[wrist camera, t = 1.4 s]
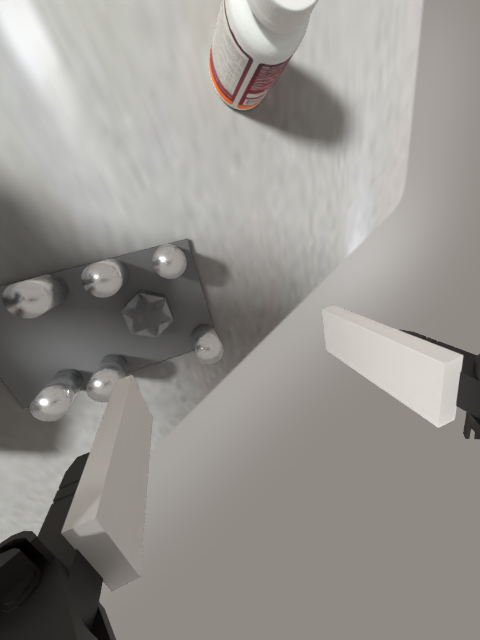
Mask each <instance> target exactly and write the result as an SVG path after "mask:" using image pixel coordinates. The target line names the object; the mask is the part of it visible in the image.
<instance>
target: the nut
mask: <svg viewBox="0 0 480 640" xmlns="http://www.w3.org/2000/svg"><path fill="white" fill-rule="evenodd" d="M121 312H122V314H123V317H124V319H125V321H126V323H127V326H128V328H129V330H130V332H131V334H135V335H142V336H149V337H155V338H157V337H158V336H159V335H160V334H161V333H162V332H163V331H164V330H165V329H166V328H167V327H168V326H169V325H170V324H171V323H172V321H173V314H172V312H171V309H170V306H169V303H168V300H167V298H166V295H165V294H161V293H157V292H152V291H147V290H143V289H140V290H139V291H138V292H137V293H136V294H135V295H134V297H133V298H132V299H131V300H130V301H129V302H128V303H127V304H126V305H125V306H124V307H123V309H122V310H121Z"/></svg>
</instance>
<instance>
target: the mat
mask: <svg viewBox="0 0 480 640" xmlns="http://www.w3.org/2000/svg"><path fill="white" fill-rule="evenodd" d="M169 244H171V245H174V246H176V247H177V248H179V249H180V250H181V251H182V252H183V253H184V255H185V257H186V261H187V265H186V269H185V271H184V272H183V274H182V275H180V276H179V277H177V278H174V279H168V278H164V277H162V276H160V275H159V274H158V273H157V272H156V271H155V269H154V267H153V263H152V258H153V255H154V253H155V251H156V250H157V249H158V248H159V247H160V246H157V247H153V248H149V249H145V250H141V251H137V252H133V253H129V254H125V255H121V256H117V257H113V258H109V259H116V260H119V261H121V262H122V263H123V264H124V265H125V266H126V267H127V269H128V273H129V276H128V280H127V282H126V283H125V284H124V285H123V286H122V287H121V288H120V289H119V290H118V291H117V292H116V293H115V294H114V295H112V296H110V297H105V298H101V297H96V296H94V295H92V294H90V293H89V292H88V291H87V290H86V289H85V288H84V286H83V284H82V280H81V276H82V273H83V271H84V269H85V268H86V267H87V266H89V265H91V264H93V263H90V264H86V265H82V266H78V267H74V268H70V269H66V270H62V271H58V272H54V273H50V274H46V275H55V276H58V277H60V278H61V279H63V280H64V281H65V282H66V283H67V285H68V287H69V295H68V298H67V299H66V300H65V301H63V302H62V303H60V304H59V305H57V306H55V307H53V308H52V309H50V310H48V311H47V312H45V313H43V314H42V315H40V316H38V317H35V318H21V317H18V316H16V315H14V314H12V313H11V312H9V311H8V310H7V309H6V307H5V306H4V304H3V300H2V295H3V292H4V290H5V289H6V288H7V287H8V286H10V285H12V284H15V283H18V282H15V283H11V284H7V285H3V286H0V378H1V379H2V381H3V382H4V383H5V385H6V386H7V387H8V389H9V390H10V392H11V393H12V394H13V396H14V397H15V398H16V400H17V401H18V403H19V404H20V405H21V407H22V408H26V407H29V406H30V404H31V402H32V401H33V400H34V399H35V398H36V396H37V395H38V394H39V393H40V392H41V390H42V389H43V388H44V387H45V386H46V384H47V383H48V382H49V381H50V380H51V378H52V377H53V376H54V375H55V374H56V373H57V372H58V371H60V370H62V369H74V370H77V371H78V372H80V373H81V374H82V376H83V379H84V382H83V385H82V387H81V388H80V389H82V388H85V387H87V384H88V382H89V381H90V379H91V377H92V375H93V373H94V372H95V370H96V368H97V366H98V364H99V362H100V361H101V359H102V358H103V357H104V356H106V355H108V354H119V355H121V356H123V357H124V358H125V359H126V361H127V363H128V367H127V370H126V373H128V372H131V371H134V370H137V369H140V368H143V367H146V366H149V365H152V364H155V363H158V362H161V361H164V360H166V359H169V358H172V357H175V356H178V355H181V354H184V353H187V352H190V351H193V350H195V349H194V345H193V341H192V332H193V330H194V328H195V327H197V326H198V325H201V324H207V325H210V326H211V327H212V328H213V329H214V327H213V324H212V320H211V317H210V314H209V310H208V307H207V303H206V300H205V297H204V293H203V290H202V287H201V283H200V280H199V277H198V273H197V270H196V267H195V263H194V260H193V257H192V253H191V250H190V247H189V243H188V240H187V239H184V240H180V241H177V242H173V243H169ZM161 246H162V245H161ZM105 260H106V259H105ZM101 261H103V260H101ZM98 262H100V261H98ZM94 263H97V262H94ZM42 276H43V275H42ZM38 277H39V276H38ZM34 278H36V277H34ZM30 279H32V278H30ZM26 280H29V279H26ZM23 281H25V280H23ZM19 282H22V281H19ZM140 289H143V290H147V291H152V292H157V293H161V294H165V295H166V298H167V300H168V303H169V306H170V309H171V312H172V314H173V321H172V323H171V324H170V325H169V326H168V327H167V328H166V329H165V330H164V331H163V332H162V333H161V334H160V335H159V336H158V337H157V338H155V337H149V336H142V335H135V334H131V332H130V330H129V328H128V326H127V323H126V321H125V319H124V317H123V314H122V312H121V310H122V309H123V307H124V306H125V305H126V304H127V303H128V302H129V301H130V300H131V299H132V298H133V297H134V295H135V294H136V293H137V292H138V291H139V290H140Z"/></svg>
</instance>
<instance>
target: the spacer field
mask: <svg viewBox="0 0 480 640" xmlns="http://www.w3.org/2000/svg"><path fill="white" fill-rule="evenodd" d="M152 263H153V267H154V269H155V271H156V272H157V273H158V274H159V275H160V276H162V277H164V278H168V279H174V278H177V277H179V276H180V275H182V274H183V272H184V271H185V269H186V265H187V261H186V257H185V255H184V253H183V252H182V251H181V250H180V249H179V248H177V247H176V246H174V245H171V244H165V245H162V246H160V247H159V248H158V249H157V250H156V251H155V253H154V255H153V258H152ZM128 276H129V273H128V269H127V267H126V266H125V265H124V264H123V263H122V262H121V261H119V260H116V259H106V260H103V261H100V262H97V263H93V264H91V265H89V266H87V267H86V268H85V269H84V271H83V273H82V276H81V280H82V284H83V286H84V288H85V289H86V290H87V291H88V292H89V293H90V294H92V295H94V296H96V297H101V298H105V297H110V296H112V295H114V294H115V293H116V292H117V291H118V290H119V289H120V288H121V287H122V286H123V285H124V284H125V283H126V282H127V280H128ZM68 295H69V287H68V285H67V283H66V282H65V281H64V280H63V279H61V278H60V277H58V276H55V275H43V276H39V277H36V278H32V279H29V280H25V281H22V282H18V283H15V284H12V285H10V286H8V287H7V288H6V289H5V290H4V292H3V295H2V300H3V304H4V306H5V307H6V309H7V310H8V311H9V312H11V313H12V314H14V315H16V316H18V317H21V318H35V317H38V316H40V315H42V314H43V313H45V312H47V311H48V310H50V309H52V308H53V307H55V306H57V305H59V304H60V303H62V302H63V301H65V300H66V299H67V298H68ZM192 341H193V345H194V349H195V353H196V357H197V359H198V360H199V361H200V362H201V363H203V364H205V365H212V364H215V363H217V362H218V361H219V360H220V359H221V358H222V356H223V353H224V348H223V346H222V344H221V342H220V340H219V338H218V336H217V334H216V332H215V330H214V329H213V328H212V327H211V326H210V325H207V324H201V325H198V326H197V327H195V328H194V330H193V332H192ZM127 367H128V363H127V361H126V359H125V358H124V357H123V356H121V355H119V354H108V355H106V356H104V357H103V358H102V359H101V361H100V362H99V364H98V366H97V368H96V370H95V372H94V373H93V375H92V377H91V379H90V381H89V382H88V384H87V387H86V392H87V395H88V396H89V397H90V398H91V399H92V400H94V401H97V402H108V401H109V398H110V396H111V393H112V390H113V387H114V385H115V382H116V380H118V379H121V378H124V377H125V374H126V370H127ZM83 382H84V379H83V376H82V374H81V373H80V372H78V371H77V370H74V369H62V370H60V371H58V372H57V373H56V374H55V375H54V376H53V377H52V378H51V380H50V381H49V382H48V383H47V384H46V386H45V387H44V388H43V389H42V390H41V392H40V393H39V394H38V395H37V396H36V398H35V399H34V400H33V401H32V402H31V404H30V412H31V414H32V415H33V416H34V417H35V418H36V419H38V420H41V421H47V422H50V421H56V420H58V419H60V418H62V417H63V416H64V415H65V414H66V412H67V411H68V409H69V407H70V405H71V404H72V402H73V400H74V399H75V397H76V395H77V393H78V392H79V390H80V388H81V387H82V385H83Z"/></svg>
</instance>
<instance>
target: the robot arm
mask: <svg viewBox="0 0 480 640" xmlns="http://www.w3.org/2000/svg"><path fill="white" fill-rule="evenodd" d="M322 318H323V326H324V336H325V344H326V350H327V351H328V352H329V353H331V354H332V355H334V356H335V357H337V358H338V359H340V360H341V361H342V362H344V363H345V364H347V365H348V366H350V367H351V368H353V369H354V370H355V371H357V372H358V373H360V374H361V375H363V376H364V377H366V378H367V379H368V380H370V381H371V382H373V383H374V384H376V385H377V386H379V387H380V388H382V389H383V390H384V391H386V392H387V393H389V394H390V395H392V396H393V397H395V398H396V399H398V400H399V401H400V402H402V403H403V404H405V405H406V406H408V407H409V408H410V409H412V410H413V411H415V412H416V413H418V414H419V415H421V416H422V417H424V418H425V419H427V420H428V421H429V422H431V423H432V424H434V425H435V426H437V427H438V428H439V427H441V426H443V425H445V424H447V423H449V422H451V421H453V420H455V414H456V407H457V406H458V407H460V408H461V409H463V410H465V411H466V412H467V413H466V420H465V426H464V432H463V434H464V436H465V438H466V439H469V437H470V431H471V429H473V430H474V432H475V437H474V438H475V439H480V354H479V355H474V354H471V353H469V352H466V351H463V350H461V349H458V348H455V347H453V346H450V345H447V344H444V343H442V342H439V341H438V342H437V341H436V340H433V339H431V338H426V336H423V335H420V334H418V333H415V332H410V331H405V330H397V329H394V328H392V327H389V326H387V325H384V324H381V323H379V322H376V321H374V320H371V319H369V318H366V317H363V316H361V315H358V314H356V313H353V312H350V311H348V310H345V309H343V308H340V307H338V306H335V305H331V306H328V307H326V308H322ZM152 420H153V417H152V415H151V413H150V411H149V408H148V406H147V404H146V402H145V400H144V398H143V396H142V394H141V392H140V390H139V388H138V386H137V384H136V381H135V379H134V377H133V375H130V376H127V377H124V378H121V379H118V380H116V382H115V385H114V387H113V390H112V393H111V396H110V398H109V401H108V404H107V407H106V409H105V412H104V415H103V418H102V421H101V423H100V426H99V429H98V432H97V434H96V437H95V440H94V443H93V446H92V448H91V451H90V452H89V453H87V454H84V455H82V456H79V457H77V458H76V459H75V461H74V462H73V463H72V465H71V466H70V467H69V469H68V470H67V471H66V473H65V475H64V477H63V479H62V482H61V484H60V486H59V490H58V491H57V493H56V496H55V498H54V500H53V501H54V503H53V504H52V505H51V507H50V509H49V512H48V514H47V516H46V519H45V521H44V523H43V525H42V528H41V530H40V532H39V535H38V537H37V536H36V535H35V534H34V533H33V532H32V531H22V532H20V533H17V534H15V535H12V536H11V537H9V538H8V539H6V540H5V541H3V542H2V543H0V640H116V638H115V636H114V633H113V630H112V628H111V625H110V622H109V620H108V617H107V614H106V611H105V609H104V608H103V606H102V605H101V604H100V602H99V598H100V593H101V587H102V582H104V583H105V584H106V585H107V586H108V588H109V589H110V590H111V591H114V590H116V589H118V588H120V587H122V586H123V585H126V584H128V583H129V582H131V581H134V580H135V579H137V578H139V577H140V572H141V560H142V547H143V534H144V522H145V509H146V497H147V484H148V471H149V458H150V445H151V433H152Z"/></svg>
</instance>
